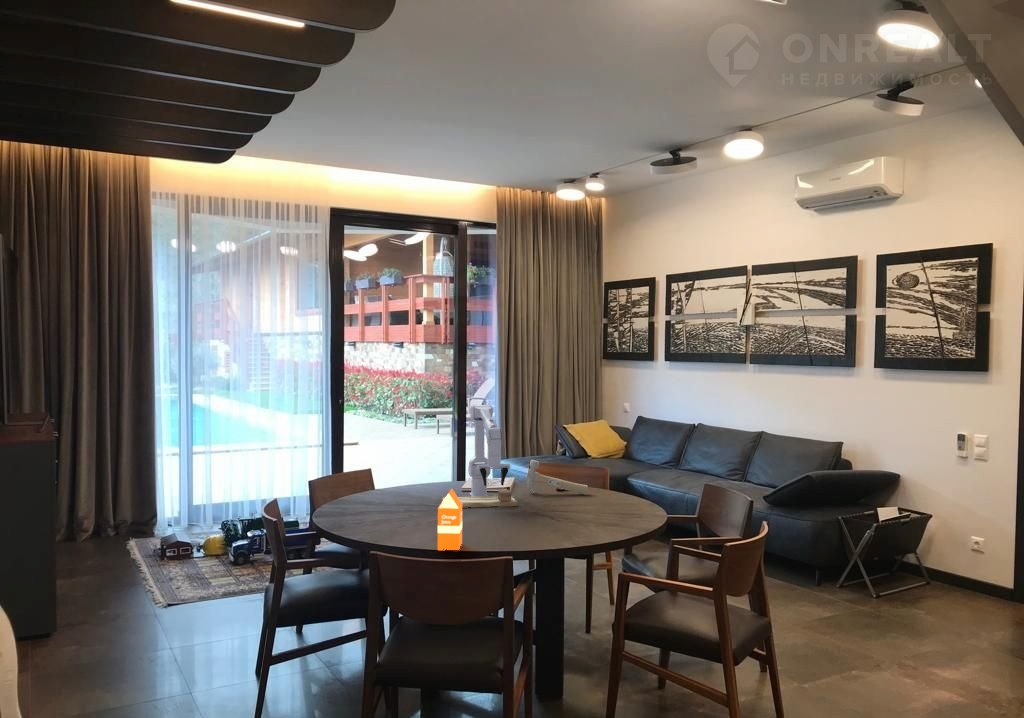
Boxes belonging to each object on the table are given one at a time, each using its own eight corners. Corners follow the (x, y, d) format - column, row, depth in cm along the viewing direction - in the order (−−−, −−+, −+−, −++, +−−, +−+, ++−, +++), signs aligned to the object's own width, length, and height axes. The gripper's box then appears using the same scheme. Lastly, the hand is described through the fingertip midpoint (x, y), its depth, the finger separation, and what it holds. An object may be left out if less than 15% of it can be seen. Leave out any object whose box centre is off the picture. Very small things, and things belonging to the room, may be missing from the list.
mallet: (496, 496, 325) (496, 488, 325) (506, 496, 326) (506, 487, 326) (500, 501, 315) (500, 492, 315) (511, 501, 316) (511, 492, 316)
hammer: (590, 474, 344) (531, 459, 347) (590, 476, 340) (530, 460, 343) (582, 505, 345) (523, 489, 348) (582, 507, 340) (522, 491, 343)
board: (442, 501, 323) (442, 497, 323) (510, 499, 330) (510, 494, 330) (445, 508, 309) (445, 503, 309) (516, 505, 316) (517, 501, 316)
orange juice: (462, 544, 252) (462, 488, 251) (459, 550, 243) (459, 493, 243) (440, 543, 252) (441, 487, 252) (436, 550, 243) (437, 492, 243)
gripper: (479, 456, 306) (478, 487, 306) (511, 455, 309) (511, 486, 309) (476, 453, 313) (476, 484, 313) (508, 453, 316) (508, 483, 316)
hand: (493, 485), depth 311 cm, fingers open, 7 cm apart
